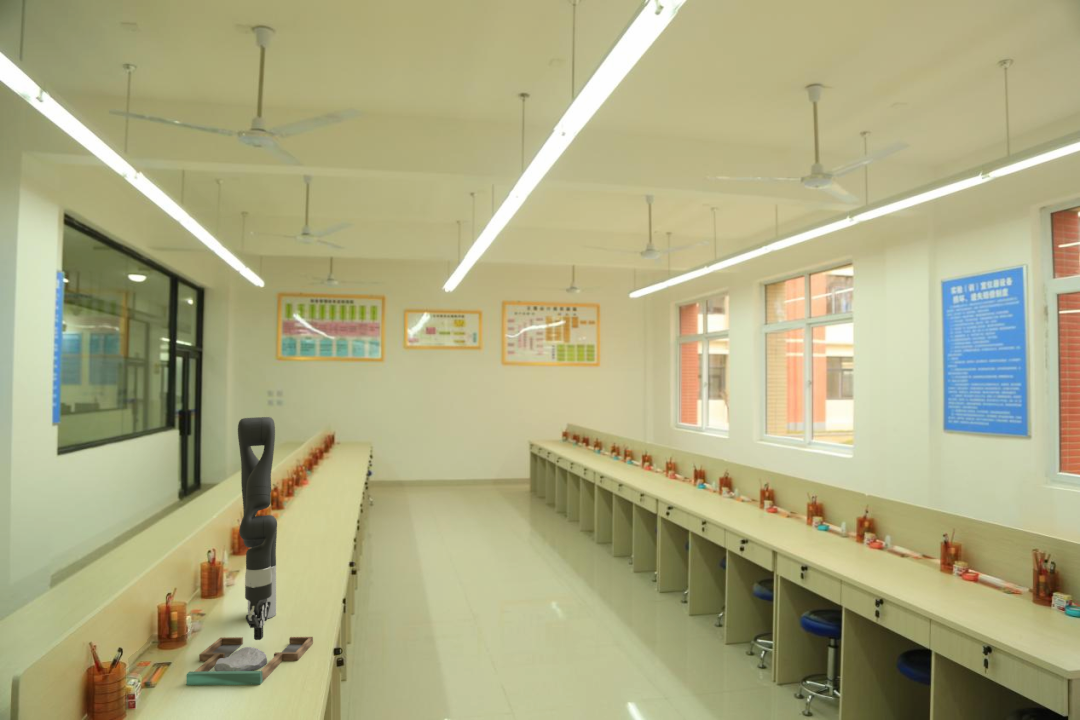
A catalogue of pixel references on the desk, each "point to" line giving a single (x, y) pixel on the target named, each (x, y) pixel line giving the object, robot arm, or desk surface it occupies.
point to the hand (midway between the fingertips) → (258, 639)
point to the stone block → (242, 660)
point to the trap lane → (226, 648)
